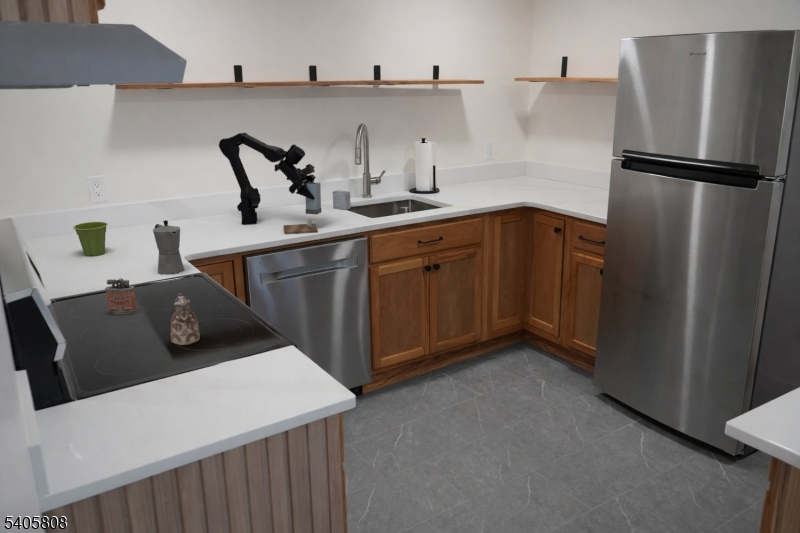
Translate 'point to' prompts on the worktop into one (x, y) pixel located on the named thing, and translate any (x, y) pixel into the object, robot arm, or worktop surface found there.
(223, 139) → the robot arm
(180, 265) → the coffeepot
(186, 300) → the figurine
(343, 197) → the medicine box
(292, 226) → the pin board
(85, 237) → the plant pot
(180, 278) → the worktop surface
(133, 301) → the lighter
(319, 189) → the sleeve
